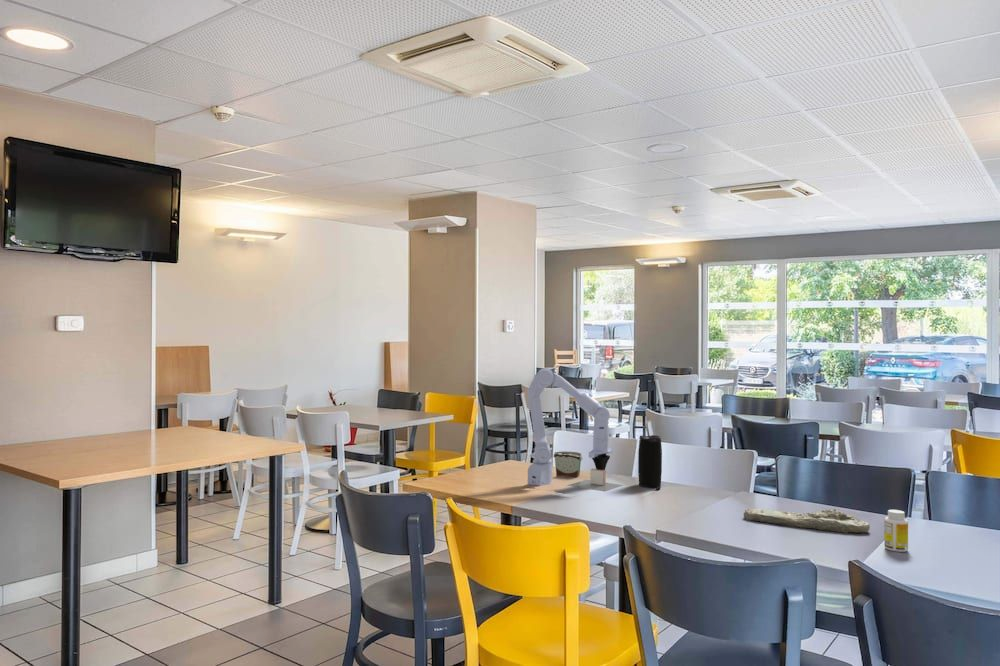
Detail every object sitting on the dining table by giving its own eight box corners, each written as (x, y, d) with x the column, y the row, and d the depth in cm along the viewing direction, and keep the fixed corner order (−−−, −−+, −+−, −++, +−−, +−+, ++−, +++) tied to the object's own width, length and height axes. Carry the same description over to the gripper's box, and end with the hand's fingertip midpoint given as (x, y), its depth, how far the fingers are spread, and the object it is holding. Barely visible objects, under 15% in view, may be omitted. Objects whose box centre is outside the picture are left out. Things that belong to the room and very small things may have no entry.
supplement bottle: (910, 549, 191) (910, 511, 191) (904, 554, 186) (905, 514, 187) (887, 545, 194) (887, 507, 194) (881, 549, 190) (881, 511, 190)
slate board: (605, 494, 254) (605, 491, 254) (566, 488, 264) (566, 485, 264) (623, 488, 265) (623, 485, 265) (586, 482, 275) (586, 479, 275)
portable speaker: (655, 486, 270) (656, 434, 270) (665, 491, 261) (666, 437, 261) (634, 486, 268) (634, 434, 268) (643, 491, 259) (644, 438, 259)
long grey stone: (746, 519, 228) (742, 528, 219) (745, 502, 227) (741, 511, 219) (870, 527, 211) (870, 537, 203) (869, 509, 211) (869, 519, 202)
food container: (587, 478, 284) (588, 453, 284) (581, 480, 278) (581, 455, 279) (560, 474, 290) (560, 450, 290) (553, 477, 285) (553, 452, 285)
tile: (603, 485, 263) (603, 470, 263) (590, 483, 267) (590, 469, 267) (605, 485, 265) (605, 470, 265) (592, 483, 268) (592, 468, 268)
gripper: (600, 441, 259) (600, 478, 259) (619, 437, 271) (619, 473, 271) (583, 439, 264) (583, 476, 264) (603, 435, 275) (602, 470, 275)
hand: (600, 474), depth 267 cm, fingers closed
